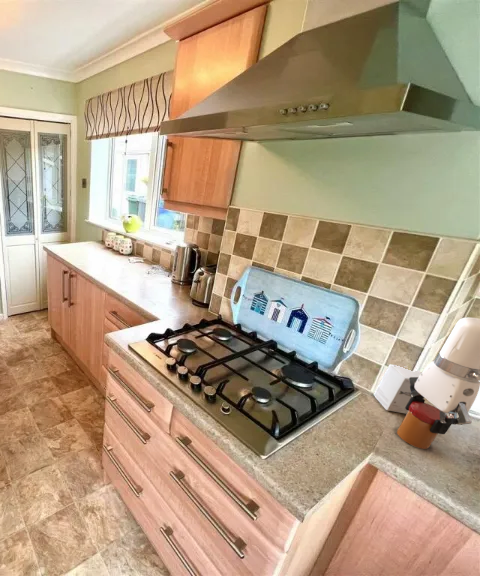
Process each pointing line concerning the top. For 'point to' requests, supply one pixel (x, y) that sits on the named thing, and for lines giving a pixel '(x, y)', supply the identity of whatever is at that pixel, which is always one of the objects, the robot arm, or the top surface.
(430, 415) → the lid
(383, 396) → the white packaging box
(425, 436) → the jar
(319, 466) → the top surface
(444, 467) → the top surface
